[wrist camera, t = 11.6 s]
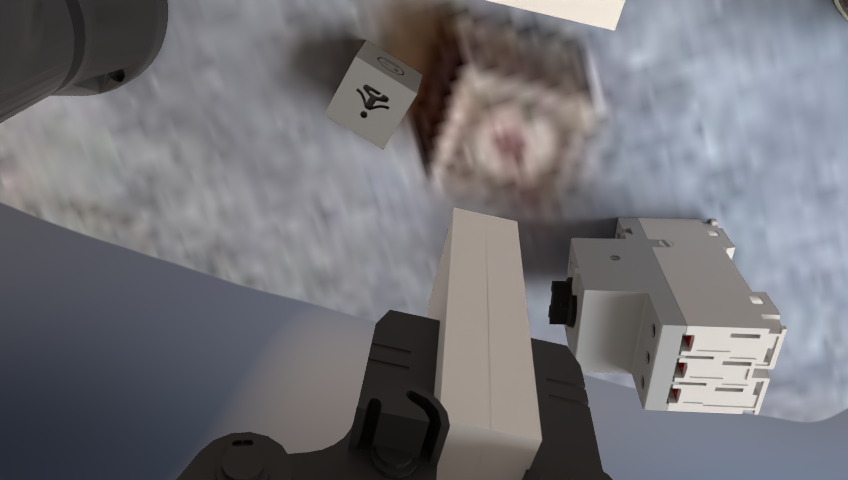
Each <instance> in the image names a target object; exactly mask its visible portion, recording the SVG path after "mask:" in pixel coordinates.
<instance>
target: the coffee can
mask: <svg viewBox="0 0 848 480" xmlns="http://www.w3.org/2000/svg"><path fill="white" fill-rule="evenodd" d="M834 3H835V5H836V7H837V9H838V10H839V11H840V13H841V14H842V15H843V16H844V17H845V18H846V19H847V20H848V0H834Z"/></svg>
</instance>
